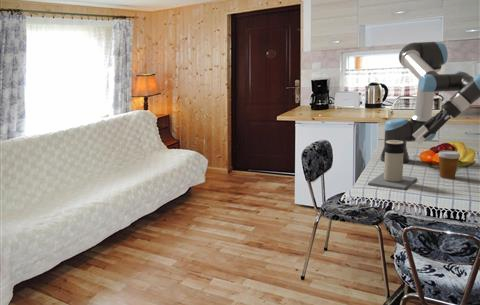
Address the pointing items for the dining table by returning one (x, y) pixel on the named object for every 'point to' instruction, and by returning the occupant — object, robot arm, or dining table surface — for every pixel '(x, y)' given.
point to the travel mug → (393, 161)
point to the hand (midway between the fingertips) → (415, 139)
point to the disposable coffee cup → (448, 163)
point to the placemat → (395, 185)
